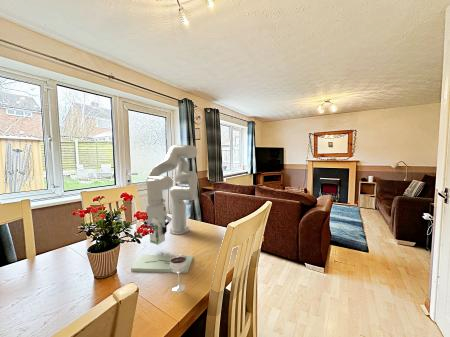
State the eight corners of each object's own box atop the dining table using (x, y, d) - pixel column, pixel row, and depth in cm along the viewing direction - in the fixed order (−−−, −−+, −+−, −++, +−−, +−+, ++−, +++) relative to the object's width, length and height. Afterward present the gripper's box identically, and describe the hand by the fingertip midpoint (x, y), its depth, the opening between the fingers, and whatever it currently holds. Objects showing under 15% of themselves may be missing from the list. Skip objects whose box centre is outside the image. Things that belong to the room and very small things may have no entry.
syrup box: (149, 242, 105) (148, 217, 103) (158, 238, 110) (156, 213, 109) (157, 245, 103) (155, 219, 101) (165, 240, 108) (164, 215, 106)
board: (143, 257, 101) (143, 254, 101) (193, 258, 99) (193, 255, 99) (131, 271, 89) (131, 267, 89) (187, 272, 88) (187, 269, 87)
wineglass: (174, 296, 73) (173, 265, 72) (167, 286, 78) (166, 258, 77) (190, 289, 77) (190, 260, 76) (183, 280, 82) (182, 252, 81)
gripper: (173, 199, 107) (175, 230, 109) (142, 199, 108) (144, 230, 110) (169, 203, 100) (170, 236, 102) (136, 203, 100) (138, 236, 103)
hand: (157, 233), depth 106 cm, fingers closed on syrup box, 7 cm apart
